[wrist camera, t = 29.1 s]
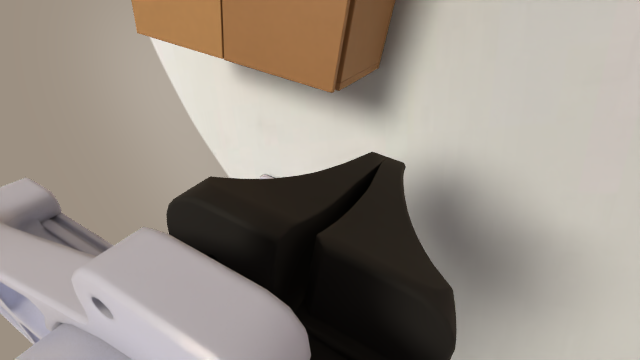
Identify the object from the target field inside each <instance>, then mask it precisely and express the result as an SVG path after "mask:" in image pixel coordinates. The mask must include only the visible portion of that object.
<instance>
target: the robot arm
mask: <svg viewBox="0 0 640 360" xmlns="http://www.w3.org/2000/svg"><path fill="white" fill-rule="evenodd" d="M405 167H406V166H405V164H404V163H403V162H400V161H397V160H394V159H391V158H389V157H386V156H383V155H380V154H377V153H375V152H371V153H368V154H366V155H363V156H361V157H359V158H356V159H354V160H351V161H349V162H346V163H344V164H341V165H338V166H335V167H332V168H329V169H325V170H322V171H318V172H314V173H310V174H305V175H299V176H292V177H283V178H272V177H270V176H268V175H262V176H261V177H260V179H235V178H220V177H209V178H207V179H205V180H204V181H202V182H200V183H199V184H197V185H196V186H194V187H192V188H191V189H189V190H188V191H186V192H184V193H183V194H181V195H179V196H178V197H176V198H175V199H173V201H172V202H171V203H170V204H169V206H168V210H167V225H168V230H169V234H168V233H164V232H161V231H158V230H155V229H152V228H147V227H142V228H141V229H139V230H137V231H136V232H134V233H133V234H131V235H129V236H128V237H126V238H125V239H123V240H122V241H120V242H118V243H117V244H116V245H112V244H111V243H109V242H107V241H106V240H104V239H102V238H101V237H99V236H98V235H96V234H94V233H93V232H91V231H90V230H88V229H86V228H85V227H83V226H82V225H80V224H79V223H77V222H75V221H74V220H72V219H71V218H69V217H67V216H66V215H64V214H63V213H61V208H60V205H59V203H58V201H57V199H56V197H55V196H54V195H53V194H52V193H51V192H50V191H49V190H48V189H46V188H45V187H43V186H41V185H40V184H38V183H37V182H35V181H33V180H32V179H30V178H23V179H20V180H18V181H15V182H12V183H10V184H7V185H4V186H2V187H0V314H1V315H3V316H4V317H5V318H6V319H7V320H8V321H9V322H10V323H11V324H12V325H13V326H14V327H15V328H16V329H17V330H19V331H20V332H21V333H22V334H23V335H24V336H25V337H26V338H27V339H28V340H29V341H30V342H31V343H32V344H33V346H31V347H30V348H29V349H27V350H26V351H25V352H23V353H22V354H21V355H19V356H18V357H17V358H16V359H14V360H450V359H451V357H452V354H453V352H454V350H455V344H456V312H455V303H454V295H453V290H452V288H451V286H450V285H449V284H448V283H447V281H446V280H445V279H444V277H443V276H442V275H441V274H440V272H439V271H438V270H437V269H436V267H435V266H434V265H433V263H432V262H431V260H430V259H429V257H428V256H427V254H426V252H425V251H424V249H423V247H422V245H421V243H420V241H419V239H418V237H417V235H416V233H415V231H414V228H413V226H412V223H411V220H410V217H409V214H408V210H407V206H406V201H405V195H404V185H403V174H404V170H405Z"/></svg>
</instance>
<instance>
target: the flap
mask: <svg viewBox="0 0 640 360" xmlns="http://www.w3.org/2000/svg"><path fill="white" fill-rule="evenodd" d="M131 1H132V6H133V12H134V16H135V23H136V27H137V33H139V34H143V35H146V36H149V37H152V38H156V39H159V40H162V41H166V42H169V43H172V44H175V45H179V46H182V47H185V48H189V49H192V50H195V51H198V52H202V53H205V54H208V55H212V56H215V57H218V58H221V59H224V37H223V8H222V0H131Z"/></svg>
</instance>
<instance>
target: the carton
mask: <svg viewBox="0 0 640 360" xmlns="http://www.w3.org/2000/svg"><path fill="white" fill-rule="evenodd" d="M394 4H395V0H222V8H223V37H224V60H227V61H230V62H233V63H237V64H240V65H243V66H246V67H249V68H253V69H256V70H259V71H262V72H266V73H269V74H272V75H275V76H279V77H282V78H285V79H288V80H292V81H295V82H298V83H301V84H305V85H308V86H311V87H314V88H318V89H321V90H324V91H327V92H331V93H333V92H334V91H335V90H338V91H340V90H341V89H343V88H345V87H347V86H348V85H350V84H352V83H354V82H355V81H357V80H359V79H360V78H362V77H364V76H366V75H367V74H369V73H371V72H373V71H374V70H376V69H378V68H379V65H380V60H381V56H382V52H383V48H384V44H385V40H386V36H387V32H388V28H389V24H390V20H391V16H392V12H393V8H394Z"/></svg>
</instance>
